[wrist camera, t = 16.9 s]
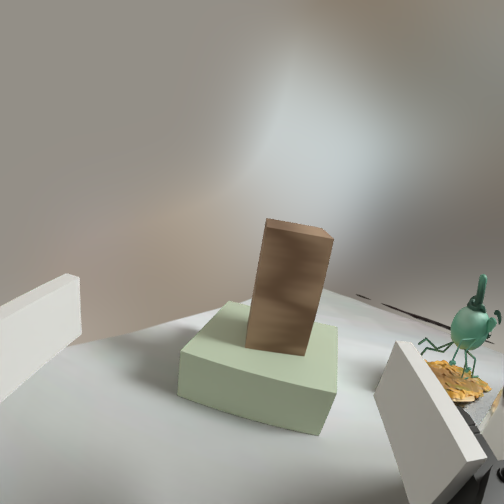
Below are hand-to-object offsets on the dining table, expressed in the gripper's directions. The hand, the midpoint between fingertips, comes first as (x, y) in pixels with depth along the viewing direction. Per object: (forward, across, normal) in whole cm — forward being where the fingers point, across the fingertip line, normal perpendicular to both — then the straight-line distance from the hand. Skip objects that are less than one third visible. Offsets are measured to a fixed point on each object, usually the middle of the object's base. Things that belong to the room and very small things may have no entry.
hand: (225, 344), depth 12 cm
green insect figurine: (+17, +23, -12) cm, 31 cm away
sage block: (+15, +3, -12) cm, 19 cm away
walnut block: (+15, +3, -7) cm, 17 cm away
